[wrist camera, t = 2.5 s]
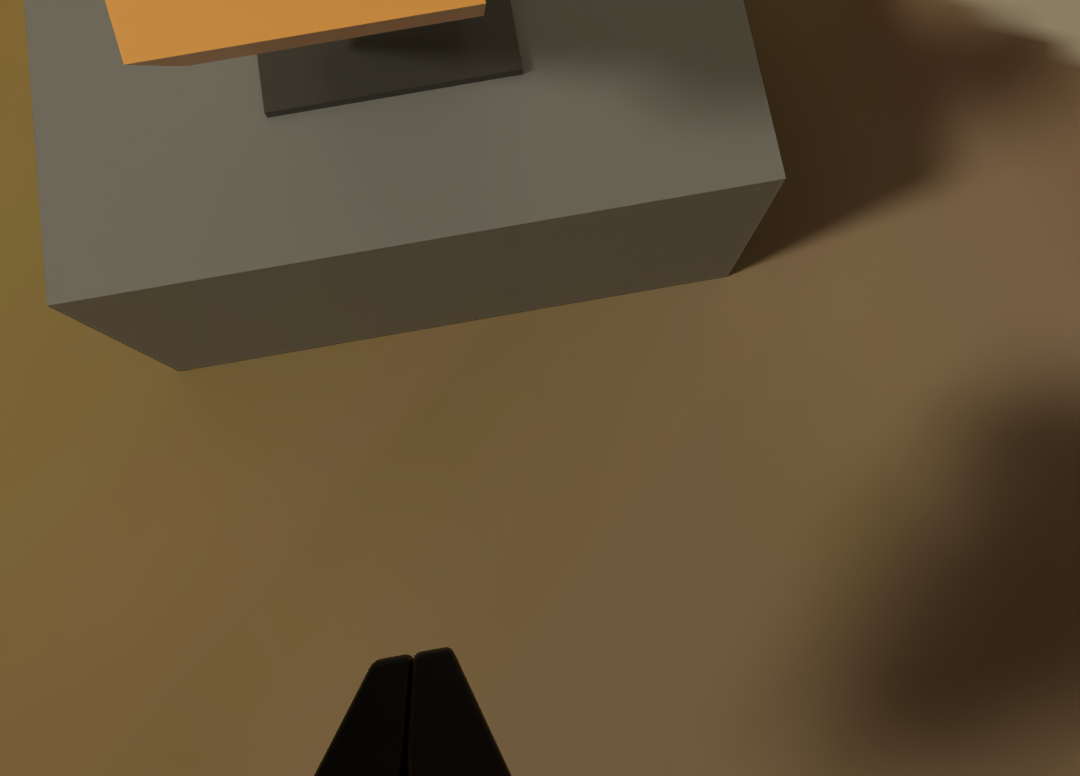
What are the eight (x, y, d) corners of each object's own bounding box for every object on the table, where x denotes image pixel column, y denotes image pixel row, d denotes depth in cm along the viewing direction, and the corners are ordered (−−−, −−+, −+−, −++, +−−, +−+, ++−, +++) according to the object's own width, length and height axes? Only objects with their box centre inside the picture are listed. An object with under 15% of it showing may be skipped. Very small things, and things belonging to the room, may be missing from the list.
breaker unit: (727, 276, 23) (788, 173, 17) (178, 371, 23) (41, 303, 17) (650, -76, 25) (679, -281, 19) (142, 10, 25) (6, -170, 19)
